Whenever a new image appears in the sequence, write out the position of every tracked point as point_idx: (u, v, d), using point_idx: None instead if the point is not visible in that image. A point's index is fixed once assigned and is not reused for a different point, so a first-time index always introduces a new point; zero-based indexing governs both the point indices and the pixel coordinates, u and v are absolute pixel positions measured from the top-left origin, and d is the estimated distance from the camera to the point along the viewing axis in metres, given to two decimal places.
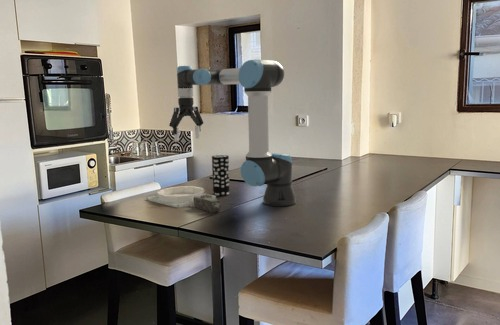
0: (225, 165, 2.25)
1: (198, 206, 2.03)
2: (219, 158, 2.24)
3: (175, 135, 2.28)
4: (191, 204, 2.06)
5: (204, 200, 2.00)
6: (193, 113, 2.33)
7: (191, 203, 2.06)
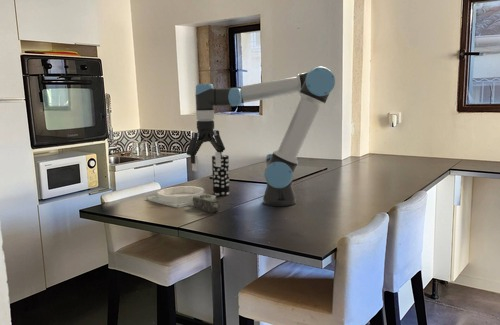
0: (225, 165, 2.25)
1: (197, 206, 2.04)
2: None
3: (193, 164, 1.95)
4: None
5: (203, 200, 2.00)
6: (214, 138, 2.00)
7: None
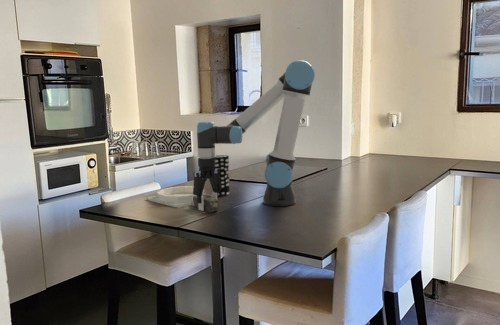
0: (225, 165, 2.25)
1: (197, 205, 2.04)
2: (219, 158, 2.24)
3: (199, 204, 2.00)
4: None
5: None
6: (214, 176, 2.02)
7: None
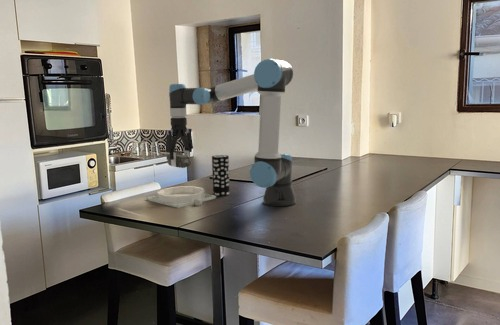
0: (225, 165, 2.25)
1: (170, 162, 2.20)
2: (219, 158, 2.24)
3: (172, 160, 2.16)
4: (200, 201, 2.09)
5: None
6: (185, 135, 2.18)
7: None
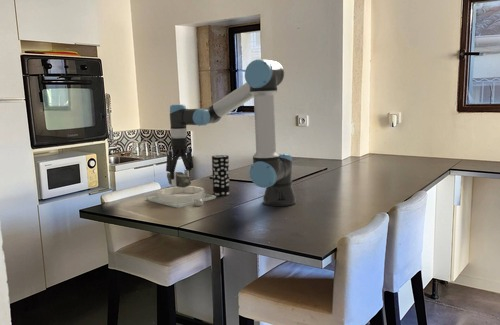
0: (225, 165, 2.25)
1: (171, 182, 2.22)
2: (219, 158, 2.24)
3: (172, 180, 2.18)
4: (202, 203, 2.09)
5: None
6: (185, 155, 2.20)
7: (202, 202, 2.09)
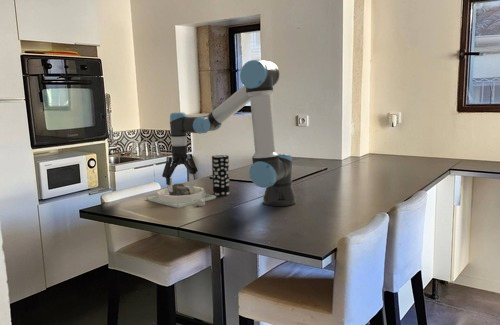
0: (225, 165, 2.25)
1: (171, 193, 2.23)
2: (219, 158, 2.24)
3: (168, 186, 2.17)
4: (203, 205, 2.08)
5: (175, 188, 2.19)
6: (187, 161, 2.21)
7: (204, 204, 2.09)
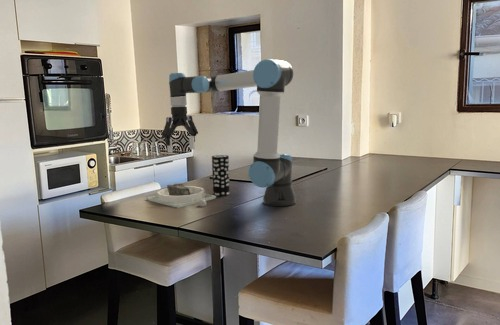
0: (225, 165, 2.25)
1: (171, 193, 2.23)
2: (219, 158, 2.24)
3: (168, 146, 2.15)
4: None
5: (175, 188, 2.19)
6: (187, 123, 2.19)
7: None
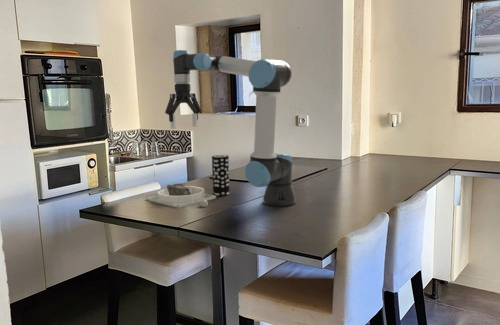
0: (225, 165, 2.25)
1: (171, 193, 2.23)
2: (219, 158, 2.24)
3: (171, 123, 2.18)
4: None
5: (175, 188, 2.19)
6: (190, 100, 2.23)
7: None
